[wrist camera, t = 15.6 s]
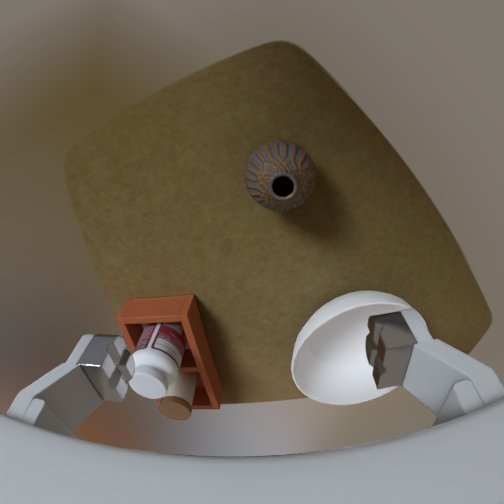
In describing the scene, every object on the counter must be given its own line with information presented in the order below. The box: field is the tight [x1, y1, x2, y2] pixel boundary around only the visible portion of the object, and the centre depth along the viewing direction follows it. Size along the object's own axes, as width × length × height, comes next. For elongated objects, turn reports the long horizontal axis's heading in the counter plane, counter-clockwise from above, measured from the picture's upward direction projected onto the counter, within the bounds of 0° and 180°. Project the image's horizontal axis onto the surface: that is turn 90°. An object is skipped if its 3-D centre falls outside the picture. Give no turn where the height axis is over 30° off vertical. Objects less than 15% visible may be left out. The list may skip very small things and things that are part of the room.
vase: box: [244, 140, 316, 211], centre depth 29 cm, size 7×7×9 cm
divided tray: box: [116, 294, 222, 409], centre depth 42 cm, size 10×19×5 cm, turn 8°
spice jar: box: [159, 372, 199, 420], centre depth 42 cm, size 5×5×8 cm
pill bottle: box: [129, 322, 188, 399], centre depth 37 cm, size 6×6×11 cm
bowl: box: [291, 290, 428, 405], centre depth 38 cm, size 18×18×7 cm
